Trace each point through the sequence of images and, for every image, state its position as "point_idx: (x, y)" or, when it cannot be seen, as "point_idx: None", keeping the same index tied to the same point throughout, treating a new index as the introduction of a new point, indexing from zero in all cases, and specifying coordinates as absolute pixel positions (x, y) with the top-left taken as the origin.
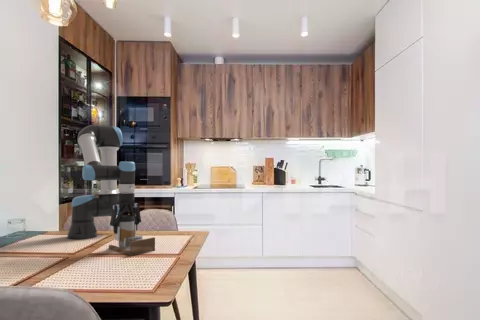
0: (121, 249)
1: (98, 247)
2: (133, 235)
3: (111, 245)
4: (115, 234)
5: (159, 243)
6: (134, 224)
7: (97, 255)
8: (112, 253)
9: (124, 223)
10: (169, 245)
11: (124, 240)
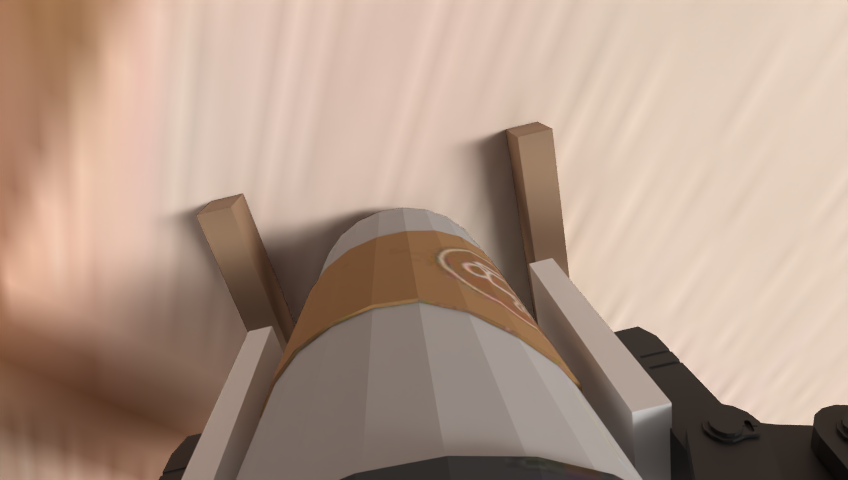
0: None
1: (76, 58)
2: (546, 322)
3: (228, 258)
4: (228, 398)
5: (790, 276)
6: (653, 475)
7: (70, 429)
8: None
9: None
10: (790, 400)
11: None
